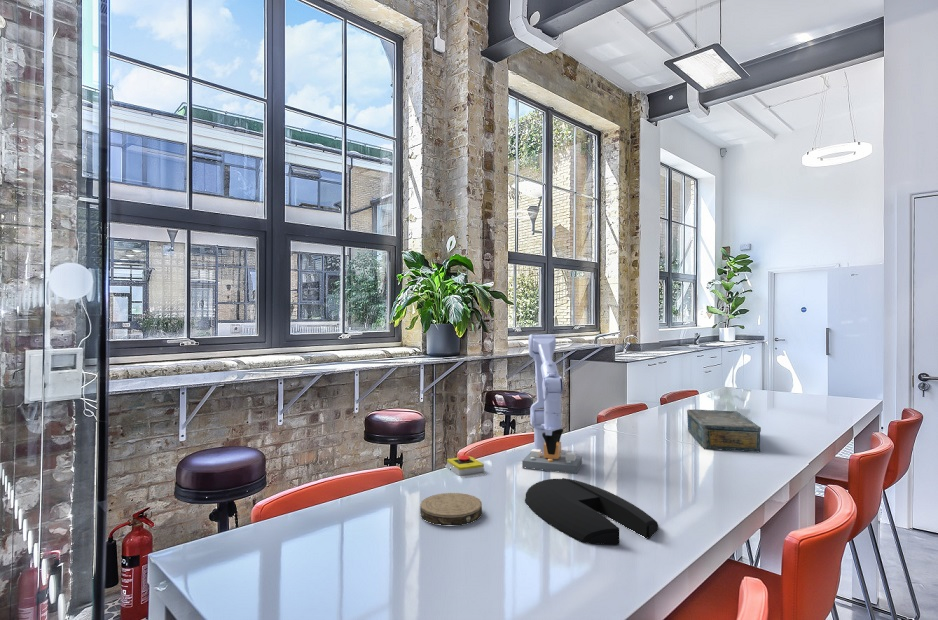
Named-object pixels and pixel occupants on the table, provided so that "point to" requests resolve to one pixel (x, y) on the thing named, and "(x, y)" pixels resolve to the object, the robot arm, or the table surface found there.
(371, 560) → the table surface
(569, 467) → the breaker board
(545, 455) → the orange rounded cube
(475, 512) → the wood slice
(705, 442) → the metal box
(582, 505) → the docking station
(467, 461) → the emergency button
